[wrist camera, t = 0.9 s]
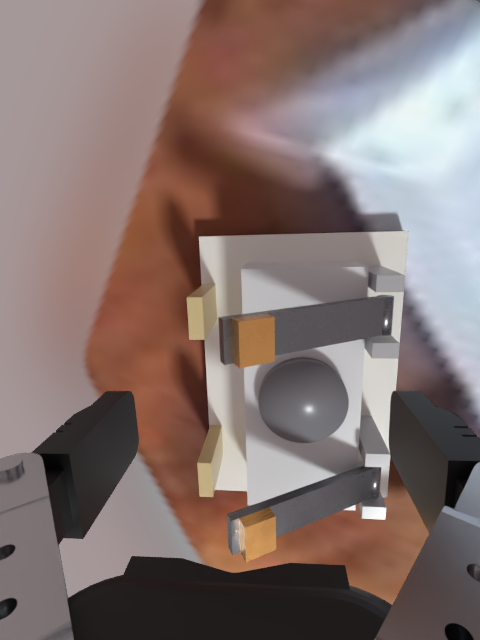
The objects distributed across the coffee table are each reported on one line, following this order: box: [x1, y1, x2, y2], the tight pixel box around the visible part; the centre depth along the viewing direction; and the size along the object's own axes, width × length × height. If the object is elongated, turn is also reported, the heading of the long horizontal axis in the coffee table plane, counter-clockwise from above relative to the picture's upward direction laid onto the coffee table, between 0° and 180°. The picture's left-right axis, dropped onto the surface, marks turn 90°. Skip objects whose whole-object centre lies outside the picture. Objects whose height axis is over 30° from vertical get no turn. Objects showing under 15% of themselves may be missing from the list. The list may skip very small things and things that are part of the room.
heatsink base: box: [187, 231, 409, 520], centre depth 28 cm, size 22×15×6 cm
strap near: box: [218, 295, 394, 368], centre depth 21 cm, size 2×12×2 cm, turn 91°
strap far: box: [227, 465, 381, 562], centre depth 24 cm, size 2×12×2 cm, turn 91°
